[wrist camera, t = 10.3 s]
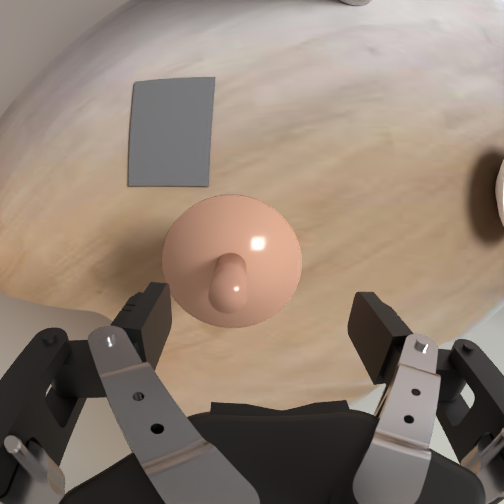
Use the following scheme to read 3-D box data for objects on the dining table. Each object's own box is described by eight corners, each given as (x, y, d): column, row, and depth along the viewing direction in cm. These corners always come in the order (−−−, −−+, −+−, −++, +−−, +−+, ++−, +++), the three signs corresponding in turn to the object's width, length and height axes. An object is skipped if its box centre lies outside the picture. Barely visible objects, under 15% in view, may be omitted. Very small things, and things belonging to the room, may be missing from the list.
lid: (162, 192, 24) (135, 203, 18) (306, 199, 25) (328, 211, 18) (167, 319, 28) (150, 359, 22) (292, 325, 29) (304, 366, 22)
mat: (135, 82, 34) (135, 81, 33) (215, 77, 34) (215, 77, 34) (129, 185, 38) (128, 186, 38) (208, 186, 39) (208, 186, 39)
